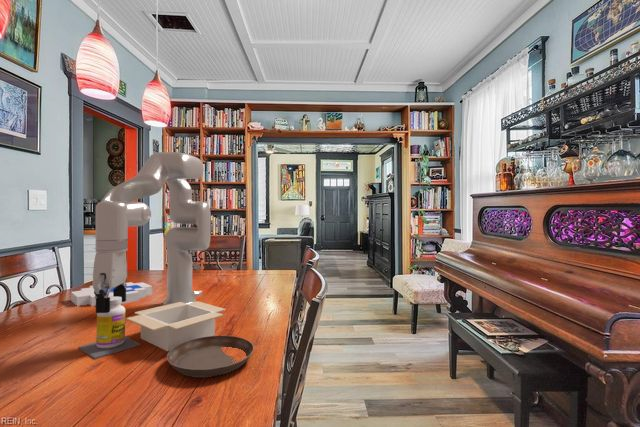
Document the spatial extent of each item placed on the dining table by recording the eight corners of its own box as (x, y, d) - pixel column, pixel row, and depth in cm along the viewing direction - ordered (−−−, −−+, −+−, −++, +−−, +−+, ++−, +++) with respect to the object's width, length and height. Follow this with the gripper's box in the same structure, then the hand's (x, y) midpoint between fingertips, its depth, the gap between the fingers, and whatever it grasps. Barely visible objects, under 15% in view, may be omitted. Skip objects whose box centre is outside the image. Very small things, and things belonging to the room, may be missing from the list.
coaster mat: (122, 336, 96) (122, 334, 96) (140, 345, 90) (140, 343, 90) (78, 348, 87) (78, 346, 87) (95, 359, 81) (95, 357, 81)
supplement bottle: (110, 350, 85) (111, 302, 85) (90, 348, 86) (90, 300, 86) (130, 341, 92) (131, 296, 92) (110, 339, 93) (111, 294, 93)
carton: (190, 319, 113) (191, 299, 113) (233, 333, 99) (234, 311, 99) (119, 339, 94) (120, 315, 94) (160, 360, 80) (161, 333, 80)
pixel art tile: (137, 279, 161) (159, 289, 142) (137, 287, 160) (159, 298, 142) (67, 288, 140) (81, 300, 121) (67, 297, 140) (81, 311, 121)
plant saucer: (224, 339, 95) (224, 328, 95) (270, 361, 82) (270, 348, 82) (151, 364, 79) (151, 350, 79) (194, 395, 66) (195, 379, 66)
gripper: (112, 242, 97) (111, 298, 97) (79, 250, 80) (78, 318, 80) (138, 242, 98) (138, 297, 98) (111, 249, 81) (111, 316, 81)
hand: (111, 306), depth 89 cm, fingers open, 9 cm apart
